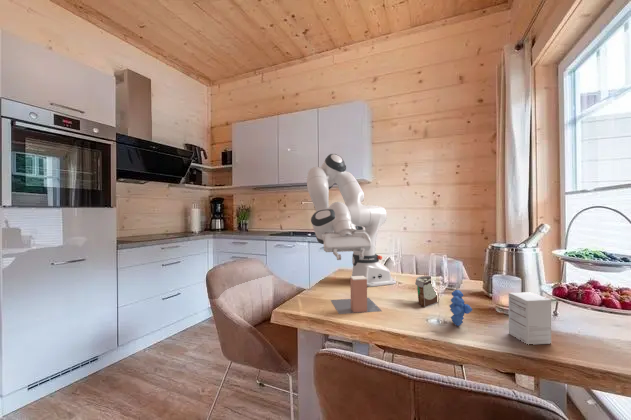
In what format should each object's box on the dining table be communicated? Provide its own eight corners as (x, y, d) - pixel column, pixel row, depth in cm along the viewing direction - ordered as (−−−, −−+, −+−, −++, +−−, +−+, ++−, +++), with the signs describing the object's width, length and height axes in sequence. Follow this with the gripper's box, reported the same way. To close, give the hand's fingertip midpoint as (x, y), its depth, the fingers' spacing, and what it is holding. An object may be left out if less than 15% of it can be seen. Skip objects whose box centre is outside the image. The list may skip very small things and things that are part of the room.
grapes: (471, 335, 85) (471, 296, 85) (446, 330, 89) (446, 292, 89) (473, 321, 95) (473, 286, 95) (451, 317, 99) (451, 283, 99)
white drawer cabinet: (531, 332, 87) (531, 291, 87) (552, 344, 80) (552, 299, 79) (507, 333, 87) (507, 292, 87) (526, 345, 79) (527, 300, 79)
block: (363, 307, 107) (363, 275, 106) (367, 311, 103) (366, 278, 102) (350, 308, 106) (350, 276, 106) (353, 312, 102) (353, 279, 102)
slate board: (368, 300, 118) (368, 297, 118) (382, 313, 103) (382, 311, 103) (330, 302, 116) (330, 299, 115) (339, 316, 101) (338, 314, 101)
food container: (427, 297, 120) (427, 274, 120) (441, 301, 115) (441, 277, 115) (408, 303, 113) (408, 278, 113) (422, 308, 108) (422, 282, 108)
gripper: (321, 228, 121) (326, 255, 111) (368, 226, 124) (376, 253, 114) (320, 237, 125) (324, 264, 116) (365, 235, 128) (372, 262, 119)
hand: (350, 258), depth 115 cm, fingers open, 8 cm apart
